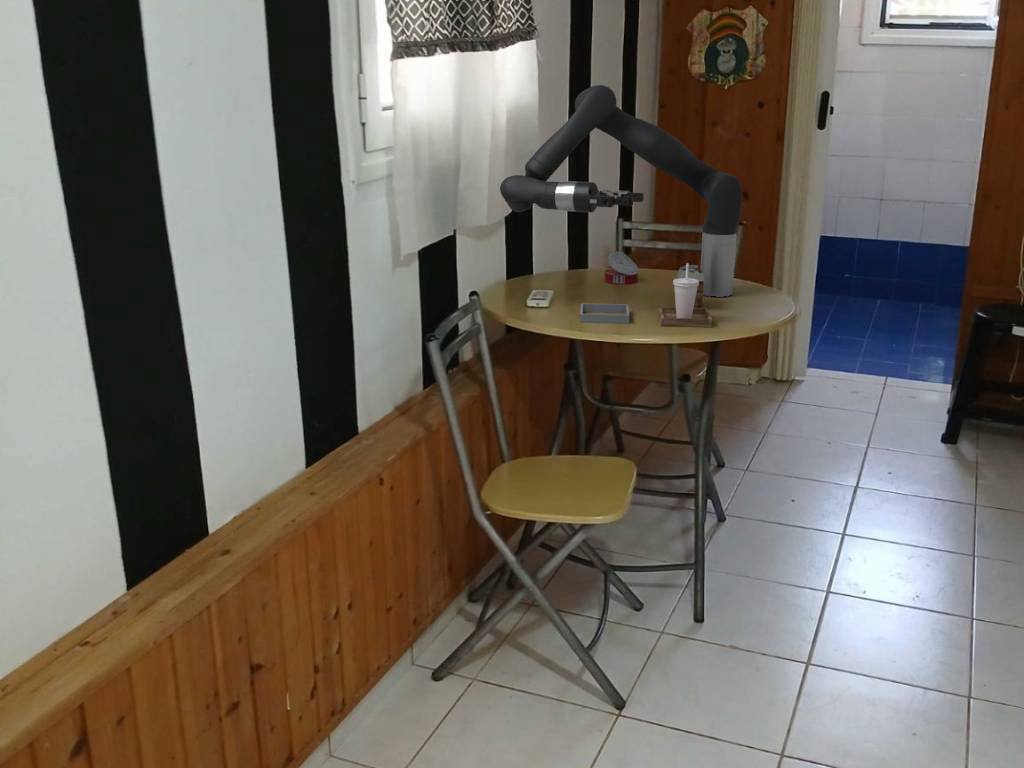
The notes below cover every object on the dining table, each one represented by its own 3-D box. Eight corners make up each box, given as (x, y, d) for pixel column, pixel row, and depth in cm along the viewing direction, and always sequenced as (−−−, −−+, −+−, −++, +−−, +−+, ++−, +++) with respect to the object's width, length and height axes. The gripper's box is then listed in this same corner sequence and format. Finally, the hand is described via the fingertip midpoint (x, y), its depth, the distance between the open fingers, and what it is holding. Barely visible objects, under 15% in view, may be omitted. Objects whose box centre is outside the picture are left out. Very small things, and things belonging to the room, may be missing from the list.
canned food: (628, 294, 314) (645, 264, 312) (631, 297, 304) (648, 267, 302) (595, 275, 313) (612, 246, 311) (597, 278, 303) (614, 248, 301)
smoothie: (673, 321, 258) (676, 265, 254) (669, 315, 264) (672, 260, 260) (699, 321, 258) (702, 265, 254) (694, 315, 264) (697, 260, 260)
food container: (673, 300, 283) (674, 264, 280) (695, 301, 283) (698, 264, 280) (678, 311, 271) (680, 273, 269) (702, 311, 271) (704, 273, 268)
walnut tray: (658, 314, 268) (659, 307, 267) (706, 315, 267) (707, 308, 266) (661, 326, 256) (661, 318, 255) (711, 327, 255) (712, 319, 254)
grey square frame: (580, 310, 271) (580, 303, 270) (627, 312, 270) (628, 304, 269) (579, 322, 259) (579, 314, 259) (629, 323, 258) (629, 315, 258)
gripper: (566, 184, 257) (629, 187, 251) (586, 178, 269) (646, 181, 263) (566, 215, 259) (629, 218, 253) (585, 208, 272) (646, 211, 265)
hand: (638, 199), depth 258 cm, fingers open, 8 cm apart
